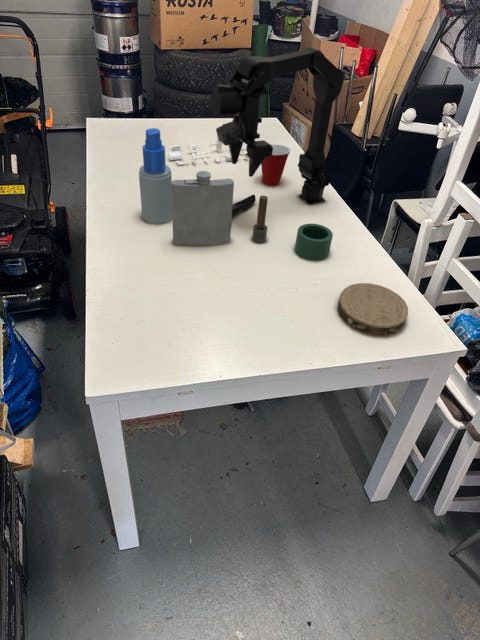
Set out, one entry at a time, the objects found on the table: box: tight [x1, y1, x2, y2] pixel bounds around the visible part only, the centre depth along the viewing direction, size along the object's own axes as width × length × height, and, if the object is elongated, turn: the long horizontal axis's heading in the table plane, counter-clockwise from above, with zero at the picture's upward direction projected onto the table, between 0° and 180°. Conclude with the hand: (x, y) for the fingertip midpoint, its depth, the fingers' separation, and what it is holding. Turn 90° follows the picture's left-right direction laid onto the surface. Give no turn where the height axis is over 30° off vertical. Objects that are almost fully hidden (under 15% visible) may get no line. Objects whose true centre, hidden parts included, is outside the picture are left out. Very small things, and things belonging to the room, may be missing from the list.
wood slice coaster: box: [336, 282, 409, 337], centre depth 108 cm, size 16×16×3 cm
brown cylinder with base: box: [251, 195, 269, 244], centre depth 127 cm, size 4×4×13 cm
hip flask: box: [171, 170, 235, 247], centre depth 121 cm, size 16×4×20 cm, turn 101°
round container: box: [294, 223, 334, 262], centre depth 126 cm, size 9×9×6 cm
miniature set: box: [165, 135, 249, 166], centre depth 171 cm, size 6×35×12 cm
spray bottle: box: [138, 127, 173, 225], centre depth 128 cm, size 9×9×25 cm
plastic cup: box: [260, 143, 292, 187], centre depth 156 cm, size 11×11×12 cm
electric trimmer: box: [232, 194, 256, 217], centre depth 142 cm, size 4×16×3 cm, turn 142°
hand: (242, 170), depth 131 cm, fingers open, 9 cm apart
